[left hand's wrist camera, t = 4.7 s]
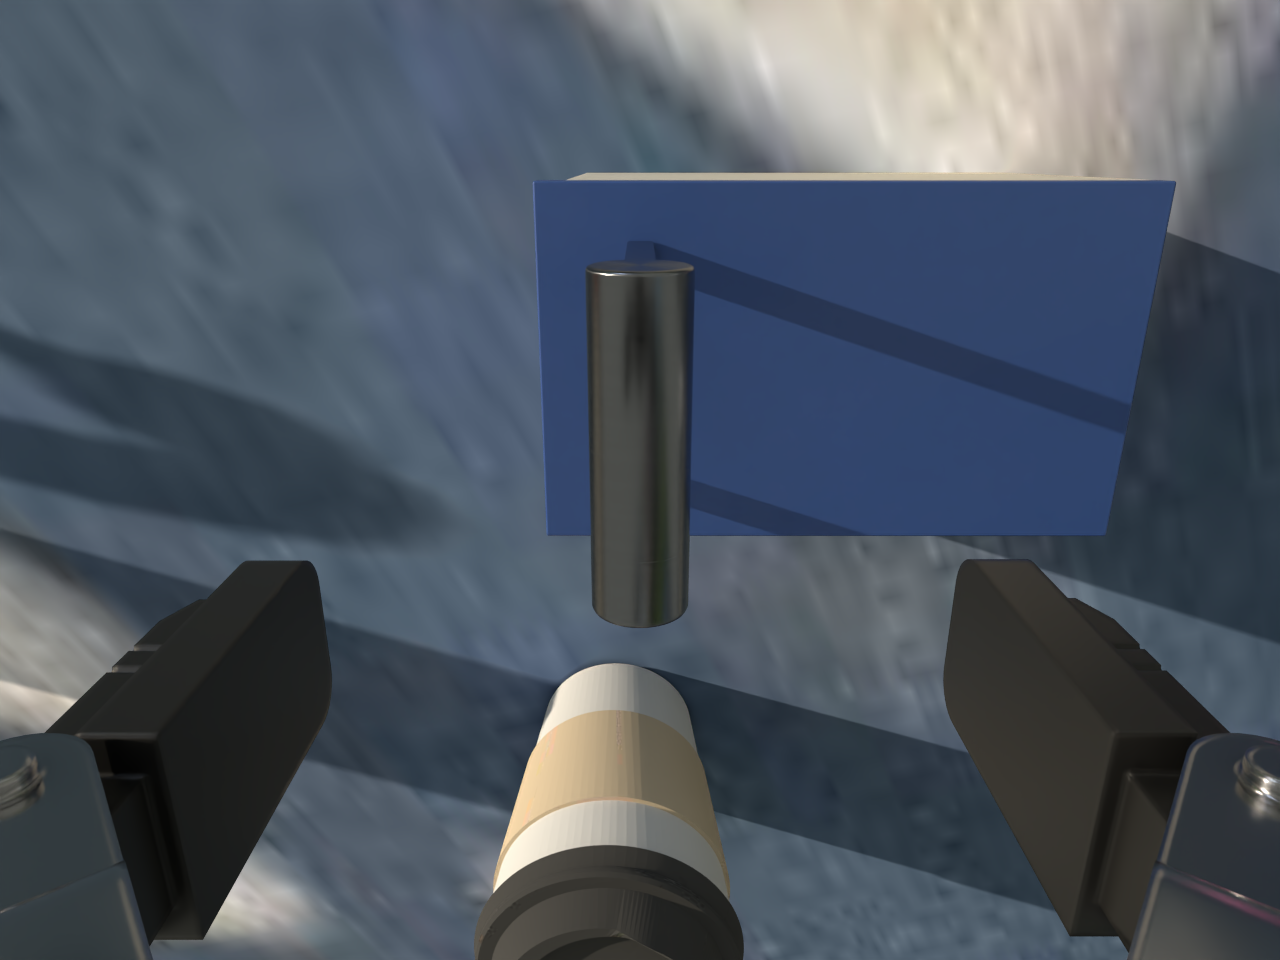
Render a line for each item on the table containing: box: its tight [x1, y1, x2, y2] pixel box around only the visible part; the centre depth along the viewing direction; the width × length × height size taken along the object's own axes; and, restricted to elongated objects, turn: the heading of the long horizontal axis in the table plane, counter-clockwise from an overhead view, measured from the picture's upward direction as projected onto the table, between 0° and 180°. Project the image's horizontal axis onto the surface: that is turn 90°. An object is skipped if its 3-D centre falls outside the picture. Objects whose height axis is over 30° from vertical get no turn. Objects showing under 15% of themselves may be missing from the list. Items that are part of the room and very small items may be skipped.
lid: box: [533, 180, 1176, 628], centre depth 21 cm, size 17×10×9 cm, turn 90°
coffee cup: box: [474, 663, 744, 960], centre depth 34 cm, size 9×9×15 cm
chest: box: [568, 173, 1142, 180], centre depth 30 cm, size 16×10×10 cm, turn 90°
